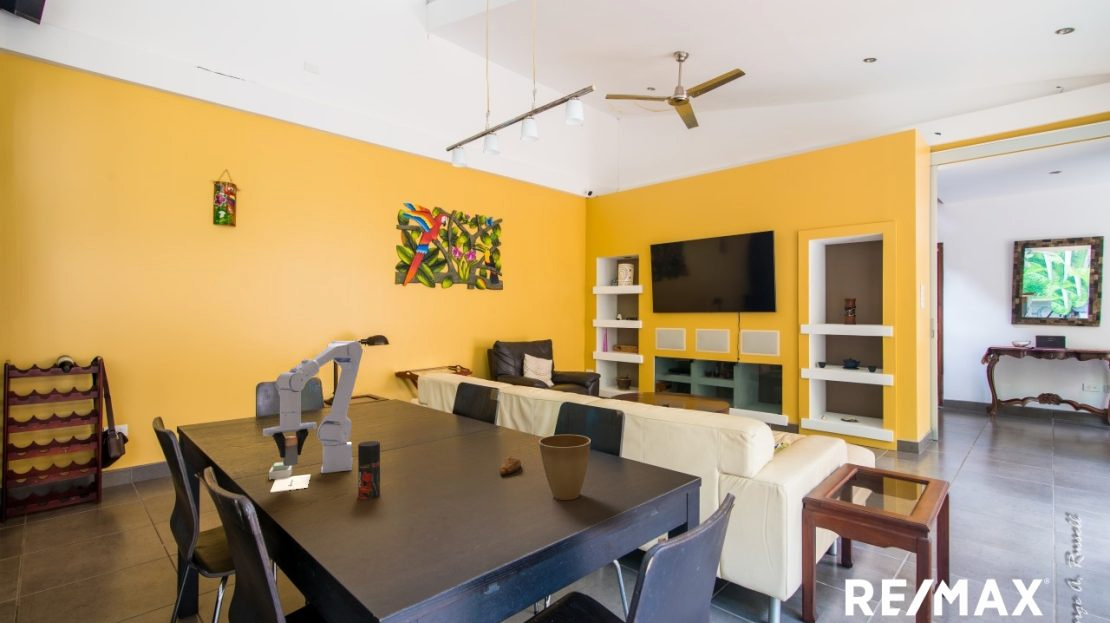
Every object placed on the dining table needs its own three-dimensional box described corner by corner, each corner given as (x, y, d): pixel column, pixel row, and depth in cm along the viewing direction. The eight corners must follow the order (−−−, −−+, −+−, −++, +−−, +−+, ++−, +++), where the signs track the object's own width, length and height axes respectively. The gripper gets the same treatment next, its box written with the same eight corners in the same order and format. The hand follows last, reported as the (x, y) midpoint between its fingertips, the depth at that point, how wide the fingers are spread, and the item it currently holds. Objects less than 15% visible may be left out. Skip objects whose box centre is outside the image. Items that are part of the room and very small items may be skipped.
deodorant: (384, 493, 147) (384, 442, 147) (369, 500, 142) (369, 447, 142) (369, 490, 150) (369, 440, 150) (353, 497, 144) (353, 444, 144)
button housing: (292, 472, 168) (292, 464, 168) (290, 477, 163) (290, 469, 163) (271, 474, 166) (271, 466, 166) (269, 479, 160) (269, 472, 160)
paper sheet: (310, 475, 165) (310, 474, 165) (307, 488, 152) (307, 487, 152) (276, 479, 161) (276, 478, 161) (269, 493, 148) (269, 491, 148)
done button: (288, 469, 167) (288, 461, 167) (287, 472, 163) (287, 464, 163) (274, 470, 165) (274, 462, 165) (273, 473, 162) (273, 466, 162)
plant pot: (564, 483, 155) (564, 431, 155) (601, 495, 144) (601, 439, 144) (528, 496, 144) (528, 440, 145) (565, 509, 134) (565, 449, 134)
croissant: (511, 478, 161) (511, 462, 161) (492, 476, 163) (492, 460, 163) (528, 466, 174) (527, 451, 174) (510, 464, 176) (510, 450, 176)
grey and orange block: (300, 461, 156) (300, 436, 156) (293, 465, 152) (294, 439, 152) (287, 461, 156) (287, 436, 156) (280, 465, 152) (280, 439, 152)
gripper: (311, 406, 162) (311, 449, 162) (260, 412, 152) (260, 457, 152) (318, 409, 157) (318, 453, 157) (266, 416, 147) (266, 462, 147)
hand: (290, 455), depth 154 cm, fingers closed on grey and orange block, 4 cm apart
